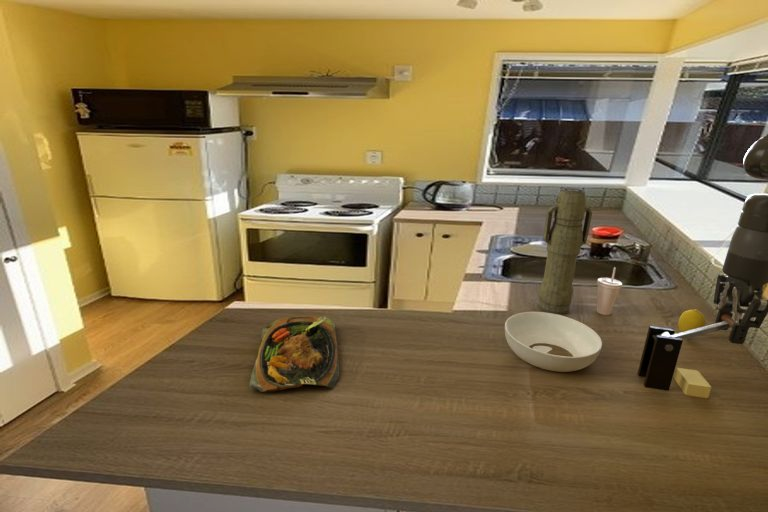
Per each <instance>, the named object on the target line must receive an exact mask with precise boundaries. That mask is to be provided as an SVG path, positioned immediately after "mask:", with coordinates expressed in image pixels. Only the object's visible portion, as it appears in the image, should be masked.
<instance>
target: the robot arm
mask: <svg viewBox="0 0 768 512" xmlns="http://www.w3.org/2000/svg"><path fill="white" fill-rule="evenodd" d="M742 166H743V171H744V172H745V173H746V174H747V175H748V176H750V177H751V178H754V179H758V180H764V181H768V133H767V134H766V135H764V136H762V137H760V138H759V139H758V140H757V141H755V142H754V143H753V144H752V145H751V146H750V148H748V150H747V152H746V153H745V155H744V157H743V164H742ZM721 271H722V273H723V274H718V275H717V277H716V283H715V289H714V295H713V304H714V305H717V306H716V310H717V315H716V319H715V322H714V324H716V323H720V322H723V320H722V319H721V317H722V315H724V314H727V315H729V316H730V317H731V318H733V316H734V320H735V321H734V323H735V324H733V327H732V328H731V331H730V333H729V337H728V341H729V342H730V343H731V344H737V345H743V344H744V343H745V341H746V339H747V336H748V332H749V329H750V328H752V329H760V328H761V326H762V324H763V322H764V321H765V319H766V317H767V315H768V299H765V298H764V297H763V295H764V286H765V285H766V284H768V193H754V194H750V195H748V196H747V197H746V198H745V201H744V202H743V205H742V208H741V211H740V215H739V219H738V221H737V225H736V227H735V230H734V232H733V234H732V236H731V239H730V242H729V245H728V249H727V252H726V256H725V259H724V262H723V265H722V269H721ZM741 307H742V308H741ZM746 308H747V309H746ZM743 314H744V315H743ZM728 330H729V328H726V329H722V330H721V331H728Z"/></svg>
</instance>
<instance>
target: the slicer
mask: <svg viewBox="0 0 768 512" xmlns="http://www.w3.org/2000/svg"><path fill="white" fill-rule="evenodd" d="M663 332H668V333H669V334H670V335H674V334H675V332H676V331H675V329H674V328H669V327H663V326H662V327H661V326H654V325H649V326H648V330H647V334H646V338H645V342H644V346H643V350H642V354H641V357H640V360H639V361H640V362H639V366H638V370H637V376H638V377H639V378H644V381H643V386H644V388H646V389H647V388H648V389H654V390H660V391H665V392H669V391H670V388H671V384H672V381H673V379H674V375H675V372H676V368H677V363H678V359H679V356H680V352H681V350H682V345H683V342H684V339H683V340H682V339H681V338H675V337H667V336H660V335H656V338H655V341H654V338H653V336H652V335H655V334H659V333H663Z"/></svg>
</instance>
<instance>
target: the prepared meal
mask: <svg viewBox="0 0 768 512" xmlns="http://www.w3.org/2000/svg"><path fill="white" fill-rule="evenodd" d="M260 336H261V337H260V341H259V346H258V349H257V355H256V358H255V362H254V365H253V368H252V372H251V376H250V379H249V384H248V389H256V390H258V391H259V392H260V393H271V392H272V393H274V392H280V391H283V390H286V389H293V388H300V387H302V386H303V385H313V386H321V387H322V386H323V387H327V388H329V389H333V388H334V386H335V384H336V383H337V381H338V380H339V377H340V361H339V349H338V340H337V331H336V325H335V322H333V321H332V320H331V319H330V318H329V317H328V316H295V317H293V316H291V317H280V318H278V319H276V320H274V321H272V322H270V323H269V324H268V325H267V326H266V327H265V328H264V327H262V331H261V335H260Z"/></svg>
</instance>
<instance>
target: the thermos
mask: <svg viewBox="0 0 768 512" xmlns="http://www.w3.org/2000/svg"><path fill="white" fill-rule="evenodd" d="M553 217H554V218H553ZM592 217H593V212H592V210H591V208H590V207H588V206H587V196H586V192H585V191H584V190H582V189H580V188H579V189H578V188H568V187H567V188H563V189H561V190H560V192H559V194H558V196H557V198H556V201H555V205H552V206H550V207H549V208H548V209H547V211H546V217H545V224H544V230H543V237H542V240H543V241H544V242H545V243H546V251H547V254H546V261H545V266H544V274H543V280H542V282H541V283H540V287H539V292H538V303H537V307H538V308H539V310H542V312H545V313H552V314H557V315H565V314H568V313H569V312H570V306H571V303H572V300H573V295H574V294H573V293H574V287H573V283H574V277H575V272H576V266H577V259H578V256H579V255H580V254H581V249H582V247H583V245H586V244H587V241H588V236H589V231H590V228H591V227H590V226H591V221H592V220H591V219H592ZM552 219H553V220H552ZM583 220H584V223H583Z"/></svg>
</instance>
